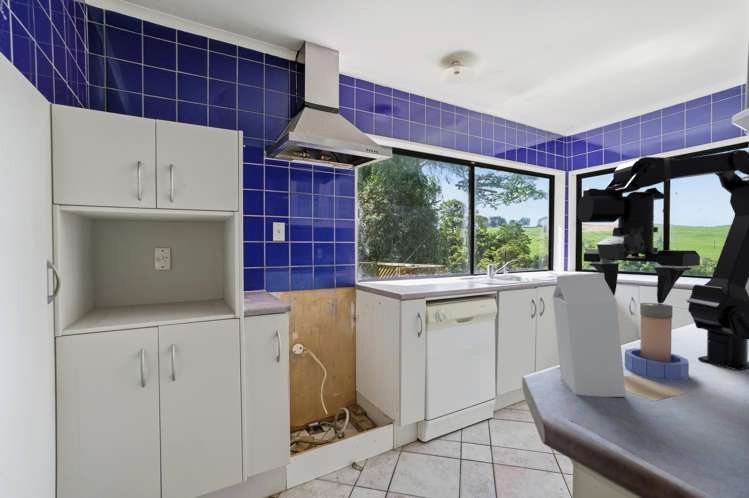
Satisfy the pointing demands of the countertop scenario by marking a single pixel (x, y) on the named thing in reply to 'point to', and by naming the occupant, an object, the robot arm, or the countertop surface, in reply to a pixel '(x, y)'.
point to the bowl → (657, 367)
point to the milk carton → (588, 336)
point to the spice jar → (656, 332)
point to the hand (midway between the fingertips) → (634, 299)
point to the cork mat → (649, 388)
